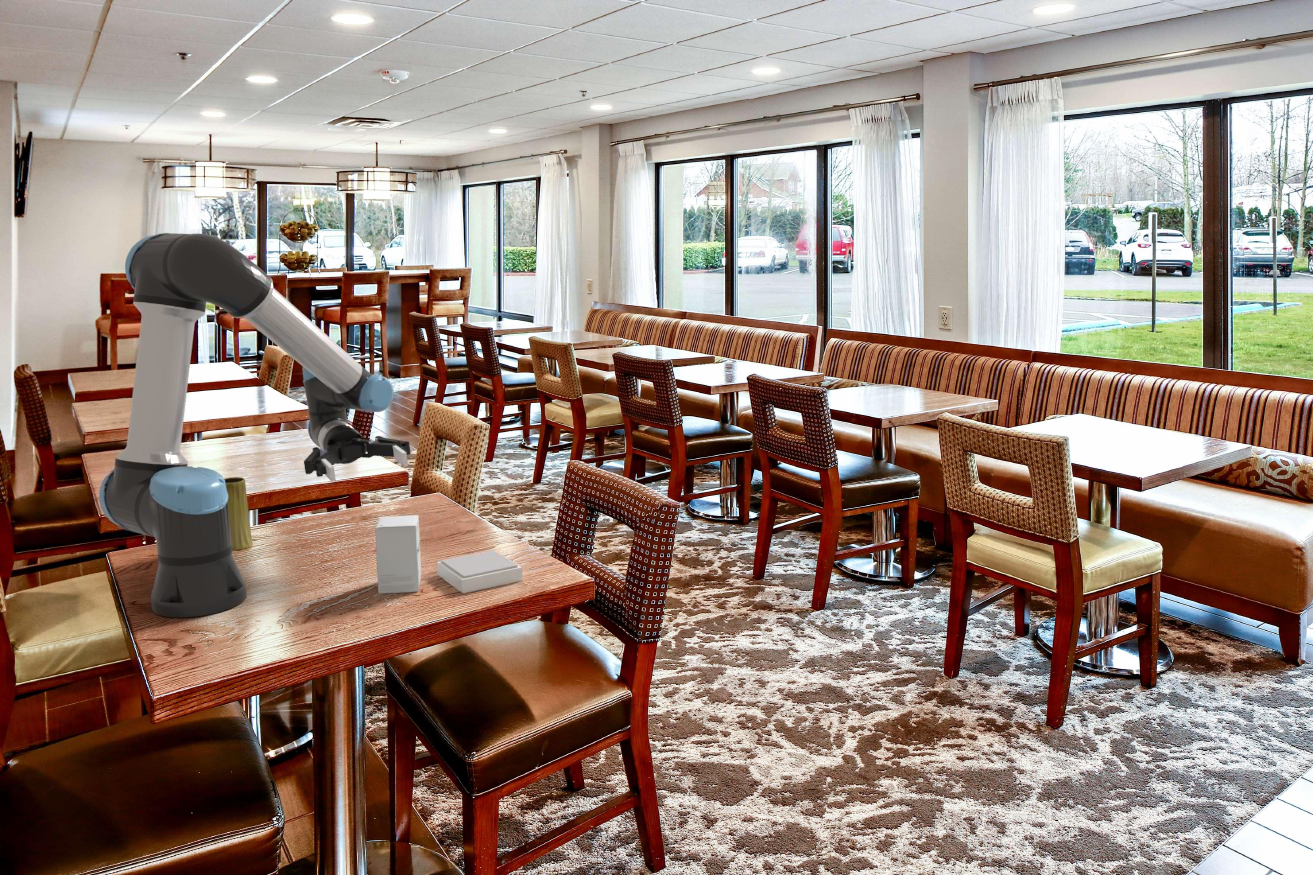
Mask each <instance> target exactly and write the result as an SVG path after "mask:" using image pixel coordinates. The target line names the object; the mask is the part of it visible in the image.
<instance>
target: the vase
mask: <svg viewBox="0 0 1313 875" xmlns="http://www.w3.org/2000/svg"><path fill="white" fill-rule="evenodd" d="M223 478H224V480H225V484H226V489H227V492H228V510H229V522H230V534H231V546H232V551H240V550H245V549H249V548H250V547H252V546H253V544H254V542H253V540H252V539H253V537H252V530H251V522H250V513H249V505H248V504H249V503H248V497H247V486H246V485H247V484H246V479H245V478H244V477H239V476H233V477H232V476H231V477H230V476H229V477H226V478H225V477H223ZM248 547H249V548H248Z"/></svg>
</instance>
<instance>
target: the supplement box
mask: <svg viewBox="0 0 1313 875" xmlns="http://www.w3.org/2000/svg"><path fill="white" fill-rule="evenodd" d="M419 517H420V516H419V515H418V514H417V515H416V514H413V515H411V514H410V515H395V516H379V518H378V520H377V522H376V525H375V528H374V534H375V535H374V536H375V552H376V569H377V588H378V590H377V591H378V594H398V593H399V594H400V593H401V594H402V593H413V592H414V593H415V592H419V590H420V583H421V580H422V565H421V564H422V563H421V561H422V560H421V559H422V558H421V538H420V520H419V519H420V518H419Z"/></svg>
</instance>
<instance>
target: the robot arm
mask: <svg viewBox="0 0 1313 875" xmlns="http://www.w3.org/2000/svg"><path fill="white" fill-rule="evenodd" d="M124 270H125V275H126V279H127V281H128V282H129V283H130V285H131V288H132V289H133V290H134V293H133V302H132V304H133V305H134V306H135V308H136V309H137V310H138V311H139V312H140V314H141V320H140V329H139V338H138V345H137V354H136V363H135V372H134V379H133V380H134V381H133V388H132V396H131V397H132V399H131V406H130V416H129V424H128V432H127V433H128V434H127V443H126V447H125V448H124V449H122V451H121V452H119V453H118V454H116V455H115V460H114V468H113V469H112V470H111V471H110V473H108V475H106V476H105V477H104V478H103V480H102V481H101V484H100V487H99V491H98V501H99V505H100V508H101V510H102V512H103V514H104V516H106V518H108V520H109V521H111V522H112V523H113V524H115V525H117V526H118V527H120V528H121V529H123V530H125V531H128V532H132V533H138V534H141V535H145V536H149V537H151V538H155V541H156V549H157V550H156V551H157V557H158V558H157V560H158V568H157V570H156V571H157V572H156V575H155V579H154V583H153V587H152V591H151V595H150V603H151V610H152V612H153V613H154V614H156V615H158V616H162V617H167V618H175V619H176V618H179V619H180V618H193V617H194V618H195V617H202V616H207V615H212V614H217V613H221V612H224V611H226V610H230V609H232V608H235V607H236V606H238V605H240V604H241V603H243V602H244V601H245V600H246V599H247V597H248V595H247V584H246V581H245V579H244V577H243V575H242V573H241V570H240V568H239V566H238V563H237V562H236V560H235V557H234V556H233V550H232V546H231V534H230V522H229V510H228V492H227V489H226V484H225V480H224V478H225V477H223V475H222V474H221V473H220V472H218V471H216V470H214V469H211V468H207V467H201V466H198V467H193V466H189V465H188V464H189V461H188V460H187V458H186V457H185V456H184V455H183V454H182V453H181V446H182V437H183V427H184V419H185V418H184V417H185V412H186V411H185V410H186V403H187V401H186V400H187V394H188V393H187V392H188V384H189V376H190V366H191V358H192V357H191V356H192V350H193V341H194V340H193V339H194V331H195V324H196V322H197V321H198V320H200V319H201V318H203V317H204V316H205V315H206V309H207V303H208V304H212V305H215V306H216V307H219V308H220V309H222V310H224V311H225V312H227V313H228V314H229V315H230V316H231V317H232V318H236V319H244V320H245V321H247V322H248V323H249V324H250V325H251V326H253V327H254V328H255V329H256V330H257V331H259V332H260V333H261V334H263V336H265V337H266V338H267V339H269V340H270V341H271V342H272V343H273V344H275V345H276V346H277V347H279V348H280V349H281V350H282V351H284V352H285V353H286V354H287V355H289V356H290V357H291V358H292V359H293V360H295V361H296V362H297V363H298V364H300V365H301V366H302V369H301V370H302V377H303V380H302V383H303V387H304V391H305V398H306V403H307V409H308V410H307V411H308V419H309V421H308V423H307V432H308V435H309V437H310V439H311V440H312V442H313V443H314V444H315V446H316V447H313V448H312V452H310V454H308V456H307V457H306V458H305V459H304V460H303V465H304V472H305V474H306V475H311V474H312V473H313V472H315V473H316V477H317V478H320V477H324V475H325V477H326V478H328V479H329V481H330V482H335V481H336V473H335V467H334V466H335V464H337V465H339V464H341V465H347V464H351V463H354V462H356V461H357V460H358V459H361V458H362V459H363V458H366V459H370V458H372V457H385V458H386V457H389V458H390V457H391V458H393V460H395V461H396V462H397V463H398V464H400V465H401V466H402V467H404V468H405V467H409V462H408V455H409V456H410V455H411V454H412V453H411V444H410V441H407V440H403V439H395V438H387V437H384V436H382V435H376V436H375V437H374V440H372V439H364V437H363V435H362V434H361V433H360V432H359V431H357V429H355V428H354V427H353V426H352V425H350V424H349V423H348V418H347V412H346V411H347V410H346V409H349V410H356V411H362V412H365V413H380V412H384V411H386V410H387V409H388V408H389V407H390V405H391V404H392V402H393V399H394V394H395V393H394V386H393V384H392V382H391V381H390V380H389V379H388V378H387V377H385V376H382V375H380V374H373V373H371V372H369V371H368V370H367V369H366V368H364V367H363V366H362V365H361V364H360V363H359V362H358V361H356V359H355V358H353V357H352V356H351V355H350V354H349V353H348V352H346V350H344V349H343V348H342V347H341V346H340V345H338V343H336V342H335V341H334V340H333V339H331V337H329V335H328V334H327V333H325V332H324V331H323V330H321V329H320V327H318V326H317V325H316V323H314V322H313V321H312V320H311V319H309V317H307V316H306V315H305V314H303V313H302V312H301V310H299V309H298V308H297V307H296V306H295V305H294V304H292V303H291V302H290V301H289V300H288V299H287V298H286V297H285V296H284V295H282V294H281V293H280V292H279V291H277V289H276V288H275V287H274V281H273V279H272V278H271V277H270V276H269V275H268V274H267V273H266V272H265V271H264V270H263V269H261V267H259V266H258V265H257V264H256V263H254V262H253V261H252V260H251V259H249V258H248V257H247V256H246V255H245V254H244V253H242V252H241V251H239V249H237V248H235V247H234V246H232V245H231V244H230V243H228V242H227V241H224V240H223V239H220V238H219V237H216V236H214V235H210V234H206V233H169V232H164V233H163V232H162V233H157V234H154V235H153V234H152V235H149V236H145V237H143V238H142V239H140V240H139V241H137V242H136V243H135V244H134V245H132V247H131V248H130V250H129V252H127V256H126V258H125V263H124Z"/></svg>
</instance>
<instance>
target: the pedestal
mask: <svg viewBox="0 0 1313 875" xmlns="http://www.w3.org/2000/svg"><path fill="white" fill-rule="evenodd" d="M436 566H437V567H436V569H437V571H436V572H437V573H436V574H437V576H438V577H440V578H441V579H443V580H444V581H445V582H447V583H448V584H450V585H451V586H452V587H453V588H455V590H458V591H459V592H460V593H461V594H467V593H471V592H476V591H480V590H485V589H489V588H495V587H498V586H504V585H508V584H513V583H518V582H522V581H523V567H522V566H521V565H519V564H518V563H516V562H514V561H512V560H510V559H509V558H507V557H506V556H504V555H502V554H501V553H500V552H498V551H496V550H494V549H491V550H486V551H482V552H477V553H471V554H465V555H460V556H456V557H451V558H446V559H441V560H440V561H436Z"/></svg>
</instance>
